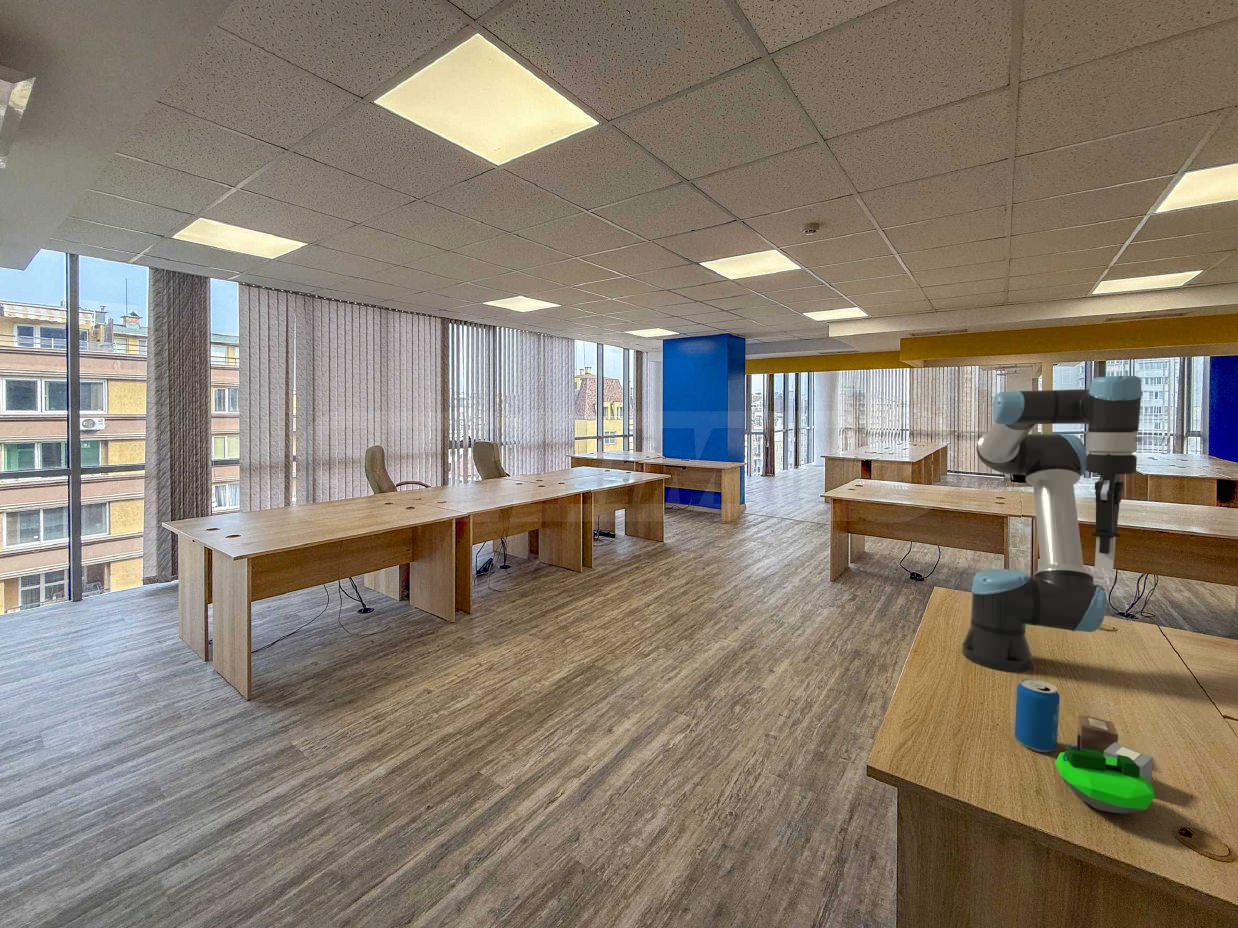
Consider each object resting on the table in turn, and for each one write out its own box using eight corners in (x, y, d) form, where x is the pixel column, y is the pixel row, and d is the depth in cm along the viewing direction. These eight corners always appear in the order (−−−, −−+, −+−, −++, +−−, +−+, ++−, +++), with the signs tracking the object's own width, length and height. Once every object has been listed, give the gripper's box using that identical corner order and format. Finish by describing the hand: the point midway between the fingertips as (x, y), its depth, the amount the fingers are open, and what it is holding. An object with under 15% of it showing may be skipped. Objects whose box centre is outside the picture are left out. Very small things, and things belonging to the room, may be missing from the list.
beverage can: (1046, 758, 99) (1049, 696, 98) (1007, 740, 105) (1010, 681, 104) (1063, 748, 102) (1066, 688, 101) (1025, 731, 108) (1028, 674, 107)
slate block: (1102, 777, 94) (1103, 750, 93) (1113, 768, 96) (1114, 741, 96) (1140, 794, 89) (1142, 765, 89) (1150, 784, 92) (1152, 756, 91)
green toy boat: (1073, 820, 84) (1077, 755, 83) (1044, 773, 95) (1047, 714, 94) (1172, 840, 80) (1177, 771, 79) (1130, 788, 91) (1134, 727, 89)
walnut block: (1080, 751, 101) (1082, 725, 101) (1077, 738, 105) (1078, 713, 105) (1116, 760, 98) (1118, 734, 98) (1111, 746, 102) (1113, 721, 102)
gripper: (1132, 455, 100) (1124, 578, 102) (1141, 452, 108) (1133, 565, 110) (1080, 454, 106) (1073, 570, 108) (1092, 451, 114) (1086, 558, 116)
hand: (1104, 567), depth 109 cm, fingers closed
